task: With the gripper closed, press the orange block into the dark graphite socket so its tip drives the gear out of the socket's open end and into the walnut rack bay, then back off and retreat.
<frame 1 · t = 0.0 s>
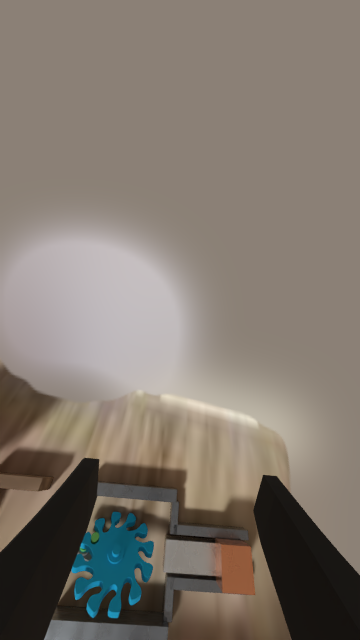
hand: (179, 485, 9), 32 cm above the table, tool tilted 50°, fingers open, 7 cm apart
socket: (150, 548, 30), on the table
orange block: (205, 559, 28), point 3 cm above the table, slide at 0.0 cm
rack: (22, 538, 29), on the table
gear: (115, 545, 30), on the table
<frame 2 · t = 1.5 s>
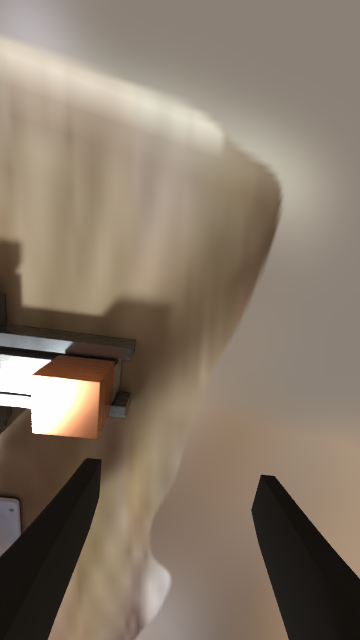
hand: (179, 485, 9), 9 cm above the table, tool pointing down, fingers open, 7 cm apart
orange block: (35, 380, 15), point 3 cm above the table, slide at 0.0 cm
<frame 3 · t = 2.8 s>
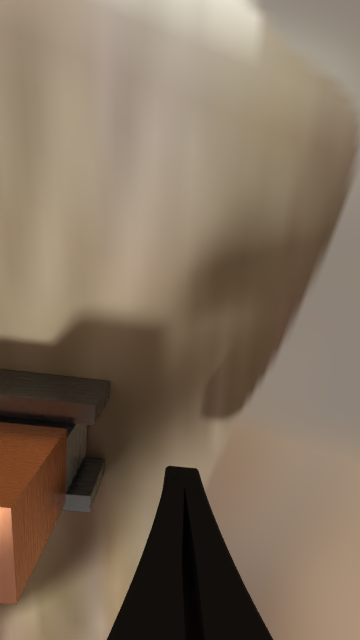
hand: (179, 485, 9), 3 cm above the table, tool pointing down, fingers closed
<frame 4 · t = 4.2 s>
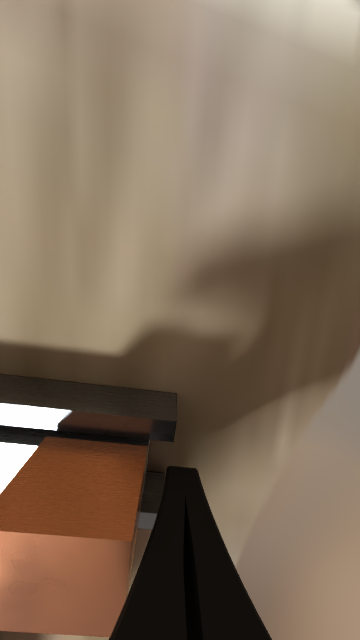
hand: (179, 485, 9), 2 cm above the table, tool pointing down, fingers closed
orange block: (1, 483, 8), point 3 cm above the table, slide at 0.0 cm, touching gripper
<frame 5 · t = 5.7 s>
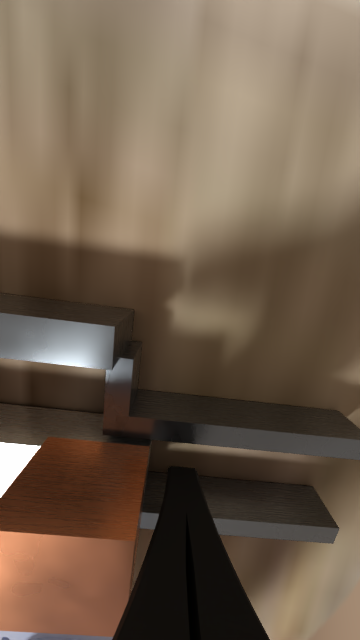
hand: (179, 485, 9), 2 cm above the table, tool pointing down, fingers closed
socket: (66, 433, 11), on the table
orange block: (3, 483, 8), point 3 cm above the table, slide at 8.5 cm, touching gear, gripper
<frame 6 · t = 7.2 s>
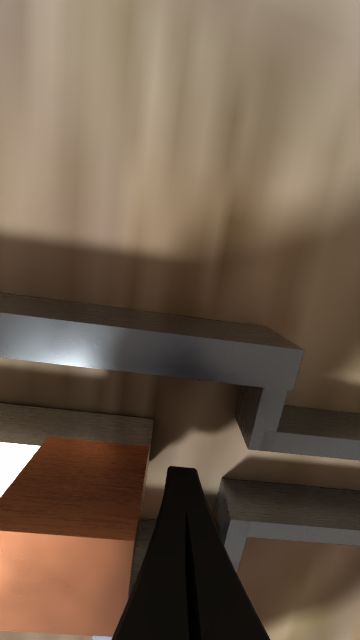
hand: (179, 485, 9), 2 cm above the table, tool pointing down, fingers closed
socket: (182, 444, 11), on the table
orange block: (3, 483, 8), point 3 cm above the table, slide at 14.7 cm, touching gear, gripper
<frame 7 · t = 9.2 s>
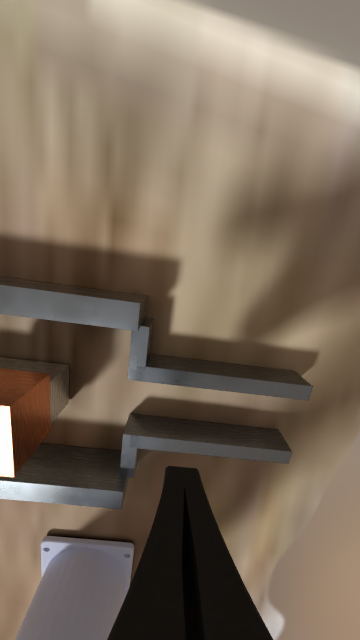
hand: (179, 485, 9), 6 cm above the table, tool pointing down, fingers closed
socket: (97, 386, 15), on the table
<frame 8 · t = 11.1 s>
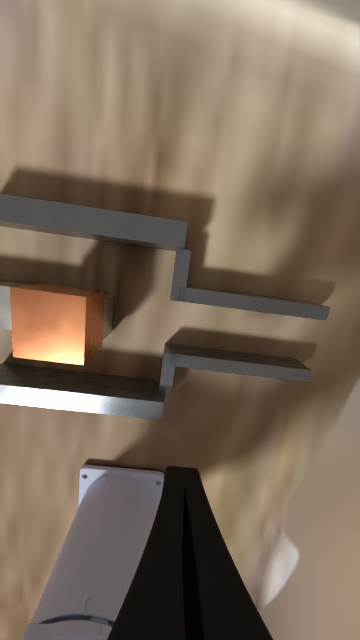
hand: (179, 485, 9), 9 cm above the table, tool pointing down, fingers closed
socket: (137, 316, 17), on the table
orange block: (18, 311, 14), point 3 cm above the table, slide at 15.0 cm, touching gear
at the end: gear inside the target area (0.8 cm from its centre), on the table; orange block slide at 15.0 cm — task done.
